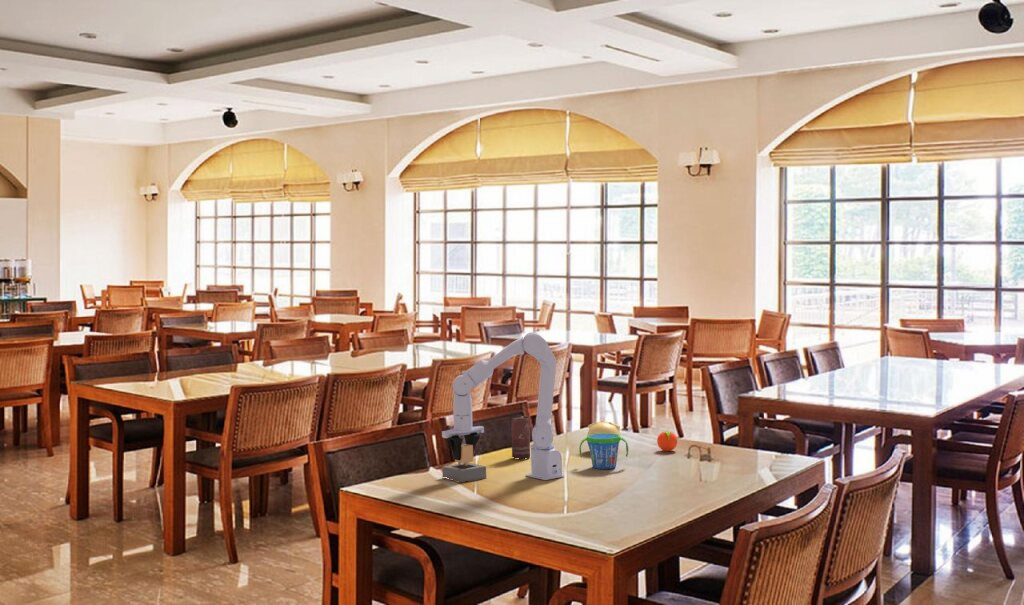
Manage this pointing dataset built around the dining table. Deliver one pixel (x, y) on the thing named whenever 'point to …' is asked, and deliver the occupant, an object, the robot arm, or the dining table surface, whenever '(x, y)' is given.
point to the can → (520, 437)
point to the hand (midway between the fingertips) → (463, 458)
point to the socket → (464, 472)
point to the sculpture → (603, 428)
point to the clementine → (667, 441)
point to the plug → (466, 454)
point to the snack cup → (604, 449)
